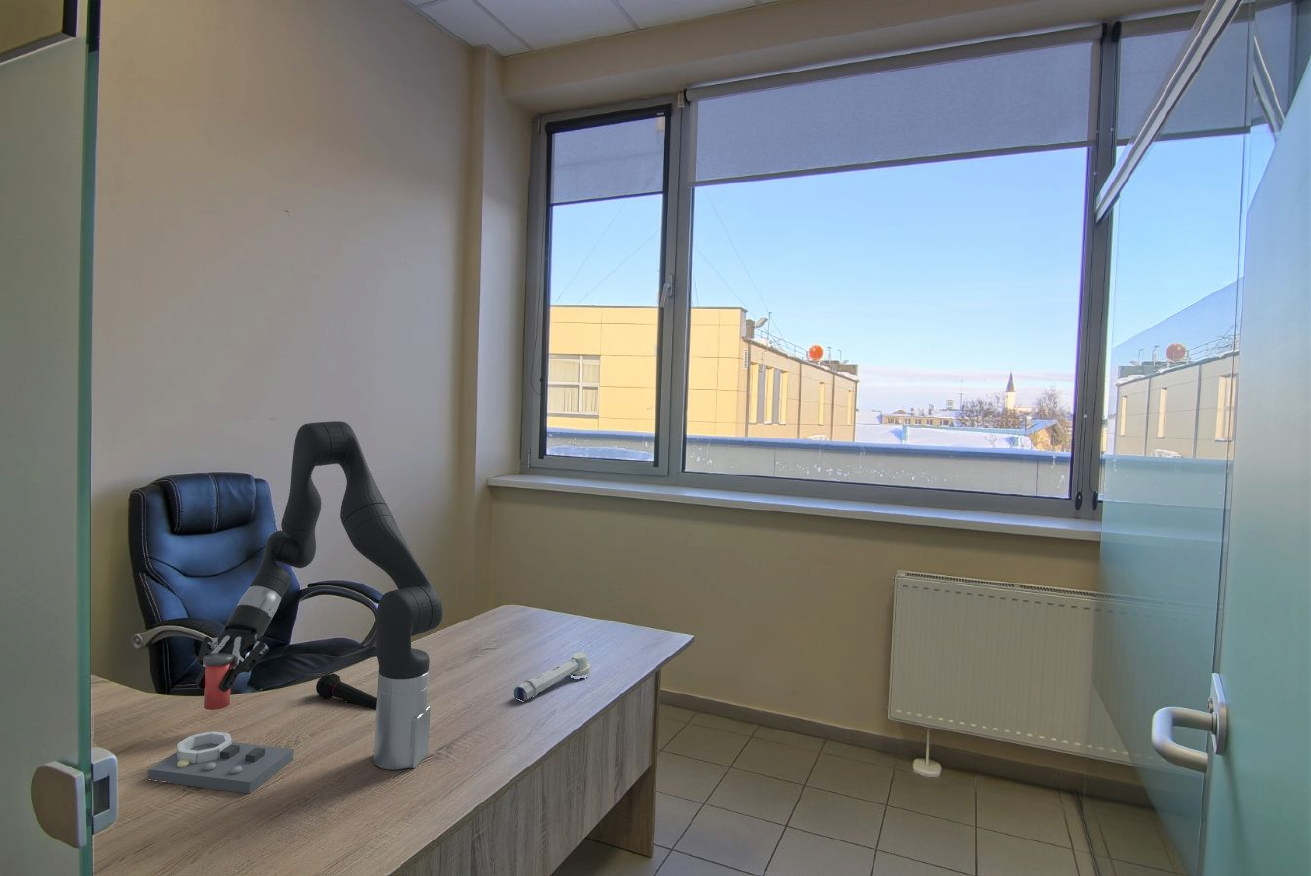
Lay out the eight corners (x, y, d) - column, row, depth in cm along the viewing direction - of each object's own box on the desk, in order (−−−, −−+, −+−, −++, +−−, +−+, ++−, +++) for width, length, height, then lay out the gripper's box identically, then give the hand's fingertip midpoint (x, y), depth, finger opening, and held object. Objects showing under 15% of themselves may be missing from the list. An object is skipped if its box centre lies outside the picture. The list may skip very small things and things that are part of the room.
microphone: (393, 721, 156) (322, 694, 161) (402, 695, 157) (332, 669, 163) (379, 723, 151) (306, 695, 156) (389, 696, 152) (316, 670, 158)
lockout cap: (238, 701, 141) (240, 653, 141) (219, 711, 136) (221, 661, 136) (214, 698, 142) (216, 650, 142) (195, 709, 137) (197, 659, 137)
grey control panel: (292, 759, 130) (294, 739, 130) (249, 793, 118) (250, 771, 118) (199, 748, 132) (200, 728, 132) (147, 780, 120) (148, 759, 120)
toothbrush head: (511, 683, 164) (579, 645, 185) (512, 709, 165) (579, 668, 186) (526, 689, 161) (594, 649, 182) (527, 716, 162) (595, 673, 183)
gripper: (215, 600, 147) (167, 677, 135) (278, 606, 145) (235, 684, 134) (231, 618, 152) (187, 693, 140) (292, 623, 151) (252, 700, 139)
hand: (210, 688), depth 137 cm, fingers closed on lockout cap, 4 cm apart
